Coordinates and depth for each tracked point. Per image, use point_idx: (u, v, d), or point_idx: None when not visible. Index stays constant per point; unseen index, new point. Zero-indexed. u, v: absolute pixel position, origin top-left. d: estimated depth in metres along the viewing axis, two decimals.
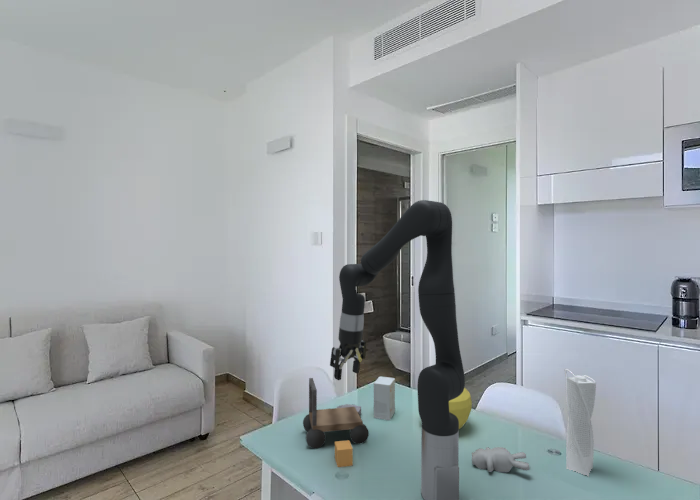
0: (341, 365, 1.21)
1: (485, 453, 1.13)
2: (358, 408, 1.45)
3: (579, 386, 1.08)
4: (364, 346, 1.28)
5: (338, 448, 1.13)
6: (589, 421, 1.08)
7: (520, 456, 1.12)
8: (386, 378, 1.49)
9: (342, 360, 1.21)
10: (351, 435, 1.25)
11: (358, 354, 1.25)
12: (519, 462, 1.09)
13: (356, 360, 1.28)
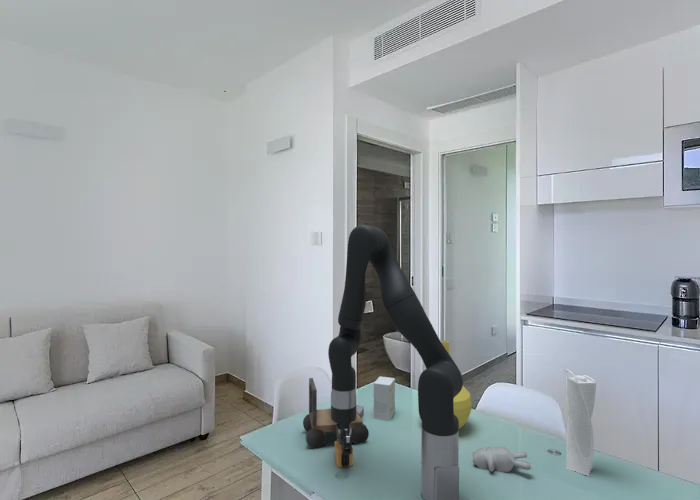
0: None
1: (486, 453, 1.13)
2: (361, 408, 1.45)
3: (579, 386, 1.08)
4: None
5: (338, 448, 1.13)
6: (589, 421, 1.08)
7: (521, 455, 1.12)
8: (386, 378, 1.49)
9: None
10: None
11: None
12: (520, 462, 1.09)
13: None
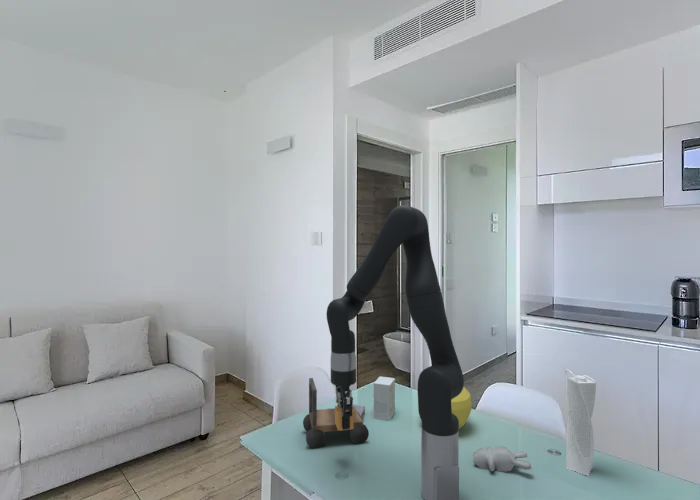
0: (350, 411, 1.12)
1: (486, 453, 1.13)
2: (362, 408, 1.45)
3: (579, 386, 1.08)
4: None
5: (338, 411, 1.12)
6: (589, 421, 1.08)
7: (521, 455, 1.12)
8: (386, 378, 1.49)
9: None
10: (351, 435, 1.25)
11: None
12: (521, 462, 1.09)
13: None
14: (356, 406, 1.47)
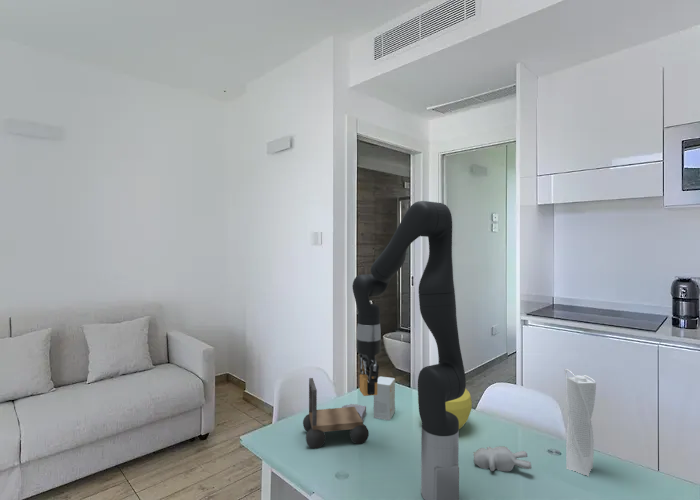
0: None
1: (487, 452, 1.13)
2: (363, 408, 1.46)
3: (579, 386, 1.08)
4: None
5: (364, 378, 1.22)
6: (589, 421, 1.08)
7: (521, 455, 1.12)
8: (386, 378, 1.49)
9: None
10: (351, 435, 1.25)
11: None
12: (521, 461, 1.09)
13: None
14: (357, 406, 1.47)
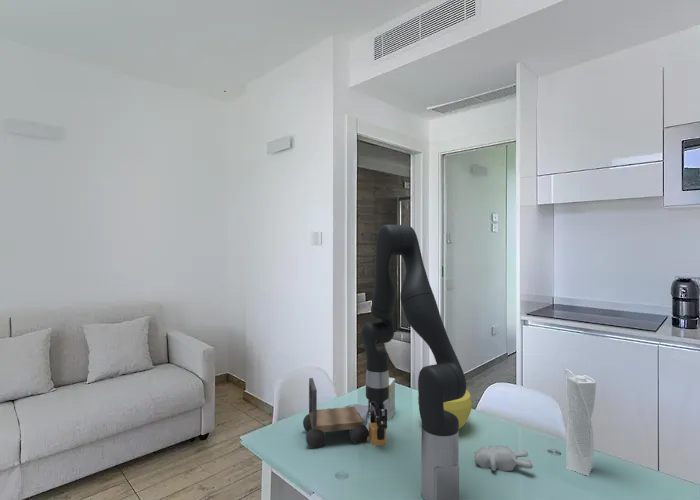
0: None
1: (488, 452, 1.13)
2: (367, 408, 1.46)
3: (579, 386, 1.08)
4: None
5: (373, 428, 1.25)
6: (589, 421, 1.08)
7: (522, 454, 1.13)
8: None
9: None
10: (351, 435, 1.25)
11: None
12: (522, 461, 1.09)
13: (374, 415, 1.31)
14: (361, 406, 1.47)
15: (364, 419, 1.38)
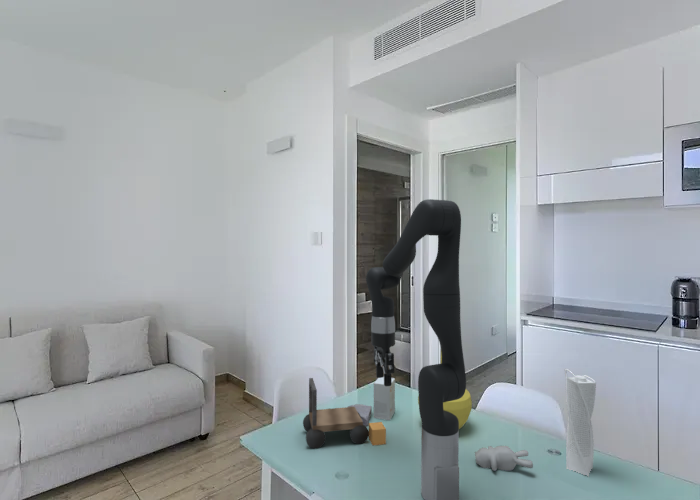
0: None
1: (488, 452, 1.13)
2: (369, 408, 1.45)
3: (579, 386, 1.08)
4: None
5: (373, 428, 1.25)
6: (589, 421, 1.08)
7: (523, 454, 1.13)
8: None
9: (390, 364, 1.20)
10: (351, 435, 1.25)
11: None
12: (523, 460, 1.10)
13: (379, 364, 1.28)
14: (363, 406, 1.47)
15: (366, 419, 1.38)
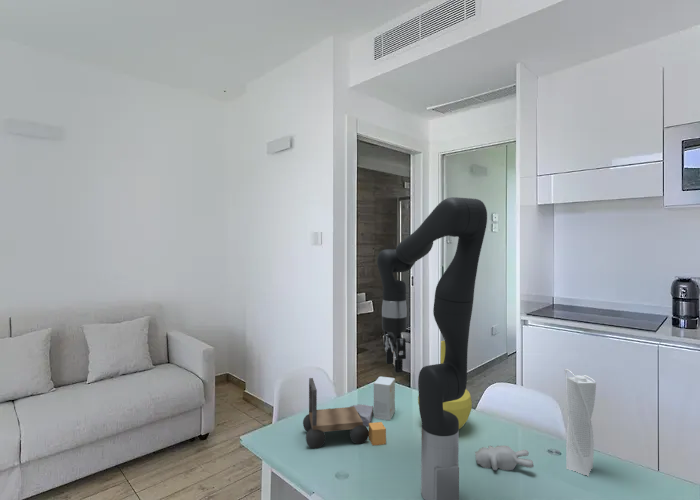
0: None
1: (489, 452, 1.13)
2: (371, 408, 1.45)
3: (579, 386, 1.08)
4: None
5: (373, 428, 1.25)
6: (589, 421, 1.08)
7: (523, 454, 1.13)
8: (386, 378, 1.49)
9: None
10: (351, 435, 1.25)
11: None
12: (523, 460, 1.10)
13: (390, 350, 1.24)
14: (365, 406, 1.47)
15: (368, 419, 1.37)
